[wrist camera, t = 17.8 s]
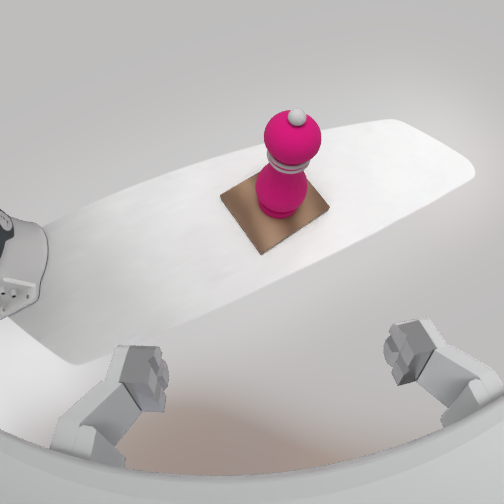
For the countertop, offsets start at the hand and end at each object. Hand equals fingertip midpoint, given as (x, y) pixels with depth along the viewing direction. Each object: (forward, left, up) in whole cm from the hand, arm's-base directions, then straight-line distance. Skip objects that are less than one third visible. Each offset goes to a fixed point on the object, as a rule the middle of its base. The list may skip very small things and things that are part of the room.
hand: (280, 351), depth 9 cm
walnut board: (+14, +14, -31) cm, 37 cm away
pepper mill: (+14, +14, -30) cm, 36 cm away
